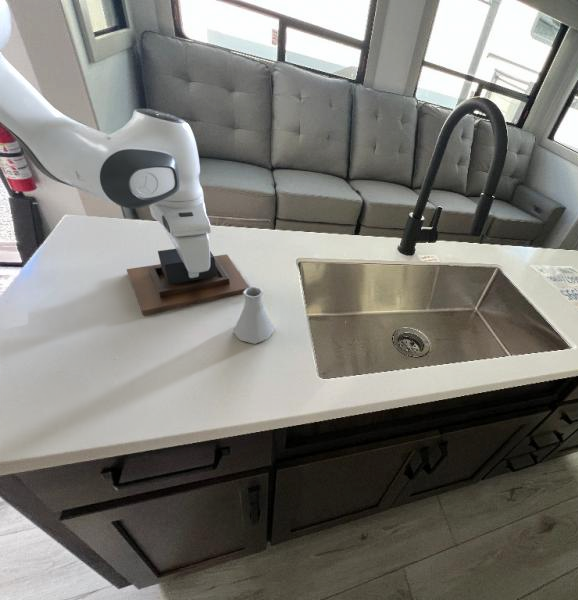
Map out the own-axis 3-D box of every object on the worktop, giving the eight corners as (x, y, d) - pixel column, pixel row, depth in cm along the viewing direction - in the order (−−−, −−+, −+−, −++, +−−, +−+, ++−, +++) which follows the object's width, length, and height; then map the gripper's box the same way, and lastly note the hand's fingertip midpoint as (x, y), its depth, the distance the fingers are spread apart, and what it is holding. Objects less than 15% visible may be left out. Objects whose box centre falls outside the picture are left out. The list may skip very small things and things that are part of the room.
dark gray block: (169, 285, 67) (164, 264, 64) (162, 271, 70) (157, 250, 67) (216, 276, 73) (214, 257, 70) (208, 263, 75) (206, 244, 73)
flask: (281, 329, 68) (282, 291, 62) (255, 349, 62) (253, 309, 56) (254, 314, 70) (252, 275, 64) (225, 332, 64) (221, 292, 58)
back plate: (143, 315, 62) (139, 304, 61) (127, 273, 70) (124, 263, 69) (250, 291, 75) (250, 282, 73) (227, 258, 83) (226, 248, 81)
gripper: (145, 185, 65) (159, 245, 74) (172, 233, 55) (185, 297, 63) (181, 184, 69) (191, 241, 77) (214, 229, 59) (220, 290, 67)
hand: (188, 267), depth 70 cm, fingers closed on dark gray block, 5 cm apart
